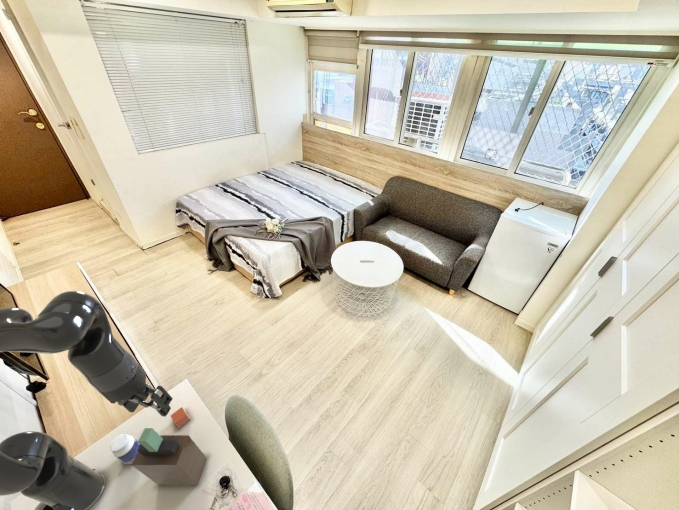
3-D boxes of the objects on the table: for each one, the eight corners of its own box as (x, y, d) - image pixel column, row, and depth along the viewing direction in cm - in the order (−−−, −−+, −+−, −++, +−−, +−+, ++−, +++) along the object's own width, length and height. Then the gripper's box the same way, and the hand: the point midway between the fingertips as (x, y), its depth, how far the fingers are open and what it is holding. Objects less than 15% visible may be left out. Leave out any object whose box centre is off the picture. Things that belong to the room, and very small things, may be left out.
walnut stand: (158, 485, 81) (131, 465, 71) (170, 457, 87) (146, 435, 76) (197, 485, 81) (176, 464, 71) (206, 457, 87) (188, 435, 76)
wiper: (141, 456, 72) (123, 441, 66) (147, 443, 75) (131, 428, 69) (174, 455, 72) (159, 441, 66) (179, 443, 75) (166, 427, 69)
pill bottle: (147, 445, 90) (134, 432, 84) (135, 465, 85) (120, 454, 79) (131, 443, 90) (117, 430, 84) (119, 463, 86) (102, 452, 80)
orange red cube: (190, 419, 96) (186, 414, 94) (179, 428, 94) (174, 423, 91) (185, 411, 98) (181, 406, 96) (174, 420, 96) (170, 415, 94)
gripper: (69, 387, 53) (112, 423, 63) (133, 395, 51) (167, 431, 61) (101, 354, 59) (136, 392, 69) (159, 360, 58) (186, 397, 67)
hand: (150, 410), depth 65 cm, fingers open, 8 cm apart
